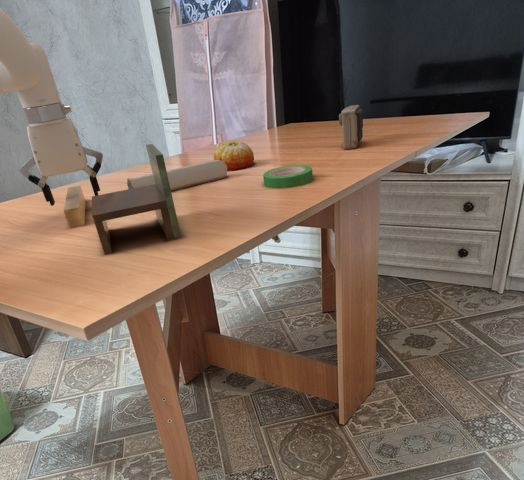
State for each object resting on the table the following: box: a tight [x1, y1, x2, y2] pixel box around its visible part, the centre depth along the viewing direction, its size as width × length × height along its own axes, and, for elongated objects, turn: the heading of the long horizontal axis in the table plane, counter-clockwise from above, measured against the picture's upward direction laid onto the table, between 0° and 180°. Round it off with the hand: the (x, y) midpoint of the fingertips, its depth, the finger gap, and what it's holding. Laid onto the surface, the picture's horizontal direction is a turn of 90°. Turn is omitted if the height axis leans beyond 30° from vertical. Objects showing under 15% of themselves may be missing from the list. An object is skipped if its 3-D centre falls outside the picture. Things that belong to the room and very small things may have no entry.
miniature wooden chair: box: [91, 143, 182, 256], centre depth 82 cm, size 13×15×14 cm
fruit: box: [213, 141, 255, 172], centre depth 127 cm, size 11×10×8 cm
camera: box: [338, 104, 364, 150], centre depth 132 cm, size 11×6×10 cm, turn 162°
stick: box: [63, 185, 86, 229], centre depth 105 cm, size 3×24×4 cm, turn 18°
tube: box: [126, 159, 228, 192], centre depth 114 cm, size 5×5×25 cm
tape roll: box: [262, 164, 314, 189], centre depth 105 cm, size 11×11×3 cm
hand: (75, 199), depth 104 cm, fingers open, 9 cm apart
